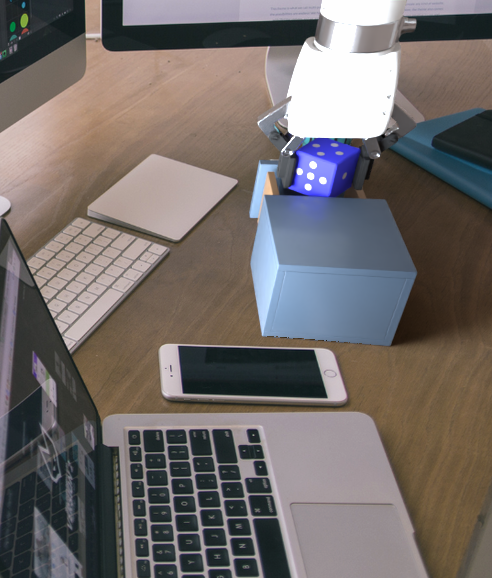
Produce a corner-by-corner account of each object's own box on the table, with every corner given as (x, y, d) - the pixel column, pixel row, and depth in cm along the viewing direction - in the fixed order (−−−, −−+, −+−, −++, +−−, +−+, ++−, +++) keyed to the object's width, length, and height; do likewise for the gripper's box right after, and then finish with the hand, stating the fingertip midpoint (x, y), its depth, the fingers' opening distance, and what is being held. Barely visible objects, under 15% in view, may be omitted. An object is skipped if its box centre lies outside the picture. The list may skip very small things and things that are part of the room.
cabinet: (250, 262, 94) (264, 194, 88) (363, 269, 91) (385, 199, 85) (261, 336, 83) (278, 264, 77) (390, 346, 81) (417, 272, 75)
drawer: (245, 193, 104) (255, 141, 100) (337, 197, 102) (351, 143, 97) (258, 269, 91) (270, 213, 86) (364, 276, 89) (382, 218, 84)
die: (327, 204, 87) (336, 164, 84) (286, 188, 91) (294, 150, 88) (351, 187, 90) (361, 148, 87) (311, 172, 93) (319, 135, 90)
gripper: (441, 17, 80) (394, 169, 91) (261, 19, 84) (238, 165, 95) (463, 43, 74) (410, 203, 85) (269, 45, 78) (243, 197, 89)
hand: (320, 182), depth 90 cm, fingers closed on die, 6 cm apart
